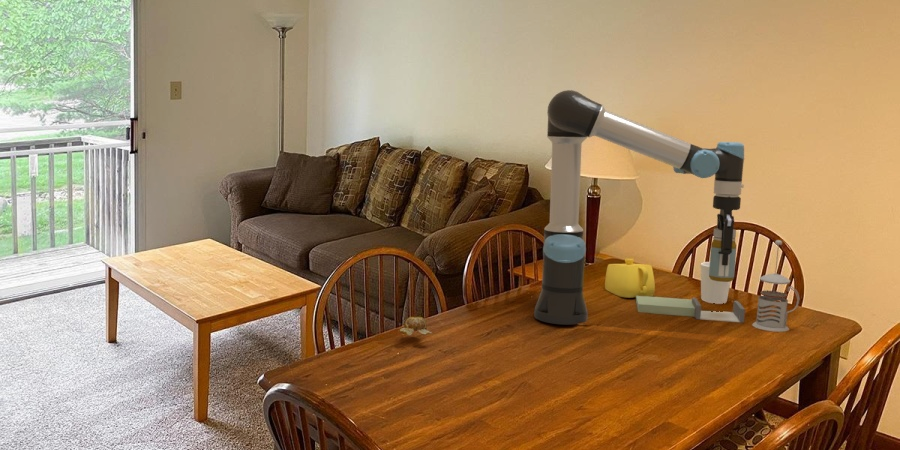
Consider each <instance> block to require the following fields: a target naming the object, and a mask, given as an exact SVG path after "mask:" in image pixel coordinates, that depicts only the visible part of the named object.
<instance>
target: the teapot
mask: <svg viewBox="0 0 900 450" xmlns="http://www.w3.org/2000/svg"><path fill="white" fill-rule="evenodd" d="M624 262H625V263H609V264H607V267H606V272H605V273H606V274H605V281H604V289H605V290H606V291H607V292H609V293H610V294H612V295H615V296H617V297H620V298H629V299H630V298H636V296H650V297H655V291H656V285H655V284H656V282H655V275H654V270H653V267H652V266H653V265H651V264H646V263H645V264H643V263H635V258H625V259H624Z"/></svg>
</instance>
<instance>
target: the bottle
mask: <svg viewBox="0 0 900 450" xmlns="http://www.w3.org/2000/svg"><path fill="white" fill-rule="evenodd" d="M712 235H713V240H712V242H711V244H710V254H709V256H710V257H709V262H710V267H709V277H710V279H711V280H714V281H720V282H730V281H731V282H732V281H734V279H735V269H736V260H737V259H736V258H737V243H736V237H737V230H736V229H734V228H733V239H732V253H730V260H729V273H728V276H725V270H726V265H724V276H718V274H719V261H720V254H718V252H721V238H722V230H720V229H718V228H717V227H715V228H714V229H713V234H712ZM731 282H730V283H731Z"/></svg>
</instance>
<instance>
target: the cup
mask: <svg viewBox="0 0 900 450" xmlns="http://www.w3.org/2000/svg"><path fill="white" fill-rule="evenodd" d="M709 267H710V261H704V262H701V263H700V298H701V300H702V301H703V302H706V303H709V304H713V303H715V304H714V305H722V304H723V303H724V304H726V303H727V301H728V296H729V291H730V287H731V282H732V281H730V282H720V281H714V280H711V279H710V277H709ZM724 304H723V305H724Z"/></svg>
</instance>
